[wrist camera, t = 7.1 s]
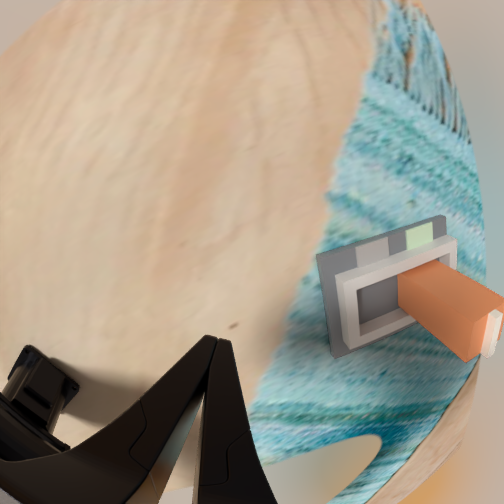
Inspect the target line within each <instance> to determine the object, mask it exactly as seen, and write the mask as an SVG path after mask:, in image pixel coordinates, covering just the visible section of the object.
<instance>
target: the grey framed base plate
mask: <svg viewBox="0 0 504 504" xmlns="http://www.w3.org/2000/svg"><path fill="white" fill-rule="evenodd" d="M316 258H317V264H318V270H319V276H320V282H321V288H322V294H323V301H324V307H325V314H326V320H327V327H328V335H329V342H330V349H331V355H332V356H333V358H334V359H336V358H338V357H341V356H343V355H346V354H349V353H351V352H353V351H356V350H358V349H361V348H363V347H366V346H368V345H370V344H373V343H375V342H377V341H380V340H382V339H384V338H386V337H389V336H391V335H393V334H395V333H397V332H400V331H402V330H404V329H406V328H408V327H410V326H412V325H414V324H416V323H418V322H417V321H416V320H415V319H414V318H413V317H411V316H410V315H409V314H408V313H407V312H405V311H404V310H403V309H402V308H400V307H399V306H398V280H397V274H399V273H402V272H404V271H407V270H409V269H412V268H414V267H417V266H419V265H422V264H424V263H426V262H429V261H431V260H434V259H435V260H437V261H439V262H441V263H443V264H445V265H447V266H449V267H450V268H452V269H454V270H456V268H457V239H456V238H453V237H451V236H449V235H446V216H443V215H438V216H435V217H432V218H429V219H426V220H423V221H420V222H417V223H414V224H411V225H408V226H405V227H402V228H399V229H395V230H392V231H389V232H386V233H383V234H380V235H377V236H374V237H371V238H368V239H365V240H361V241H358V242H355V243H352V244H349V245H346V246H342V247H339V248H336V249H333V250H330V251H327V252H323V253H320V254H317V255H316Z"/></svg>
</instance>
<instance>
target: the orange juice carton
mask: <svg viewBox="0 0 504 504" xmlns="http://www.w3.org/2000/svg"><path fill="white" fill-rule="evenodd" d="M397 280H398V306H399V307H400V308H402V309H403V310H404V311H405V312H407V313H408V314H409V315H410V316H411V317H413V318H414V319H415V320H416V321H417V322H419V323H420V324H421V325H422V326H423V327H424V328H426V329H427V330H428V331H429V332H430V333H432V334H433V335H434V336H435V337H436V338H437V339H439V340H440V341H441V342H442V343H443V344H444V345H446V346H447V347H448V348H449V349H450V350H451V351H452V352H454V353H455V354H456V355H457V356H458V357H459V358H460V359H462V360H463V361H464V362H465V363H467V362H468V361H470V360H471V359H473V358H474V357H475V356H477V355H478V354H480V353H481V354H482V355H483V356H484V357H485V358H489V357H490V356H491V355H493V354H494V350H495V347H496V342H497V340H499V338H500V335H501V330H502V326H503V321H504V298H503V297H502V296H500V295H498V294H497V293H495V292H493V291H492V290H490V289H488V288H486V287H485V286H483V285H481V284H479V283H478V282H476V281H474V280H472V279H470V278H469V277H467V276H465V275H463V274H461V273H460V272H458V271H456V270H454V269H452V268H450V267H449V266H447V265H445V264H443V263H441V262H439V261H437V260H435V259H434V260H431V261H429V262H426V263H424V264H422V265H419V266H417V267H414V268H412V269H409V270H407V271H404V272H402V273H399V274H397Z"/></svg>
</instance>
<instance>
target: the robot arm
mask: <svg viewBox="0 0 504 504" xmlns="http://www.w3.org/2000/svg"><path fill="white" fill-rule="evenodd" d="M27 350H28V351H29V352H28V351H27ZM79 389H80V386H79V384H78V383H76V382H75V381H73V380H72V379H71V378H69V377H68V376H67V375H65V374H64V373H63V372H61V371H60V370H59V369H57V368H56V367H55V366H53V365H52V364H51V363H50V362H48V361H47V360H46V359H45V358H43V357H42V356H41V355H40V354H39V353H37V352H36V351H35V350H34V349H33V348H31V347H30V346H28V345H26V346H25V347H24V348H23V350H22V352H21V353H20V355H19V357H18V359H17V361H16V362H15V364H14V366H13V368H12V370H11V372H10V374H9V376H8V383H7V384H6V386H5V388H4V389H3V391H2V393H1V392H0V504H158V503H159V500H160V498H161V496H162V493H163V491H164V489H165V487H166V484H167V482H168V480H169V477H170V475H171V473H172V470H173V468H174V466H175V463H176V461H177V459H178V456H179V454H180V452H181V449H182V447H183V445H184V442H185V440H186V438H187V435H188V433H189V431H190V428H191V426H192V424H193V421H194V419H195V416H196V414H197V412H198V409H199V407H200V405H201V402H202V399H203V396H204V399H203V406H202V414H201V423H200V432H199V441H198V450H197V459H196V468H195V478H194V489H193V499H192V504H278V503H277V501H276V499H275V497H274V495H273V493H272V490H271V488H270V486H269V483H268V481H267V478H266V476H265V474H264V471H263V469H262V466H261V464H260V461H259V458H258V455H257V452H256V449H255V445H254V441H253V437H252V433H251V430H250V425H249V421H248V417H247V412H246V408H245V403H244V399H243V394H242V390H241V385H240V381H239V376H238V372H237V367H236V362H235V357H234V353H233V348H232V343H231V341H230V340H226V339H222V338H219V339H218V338H217V337H215V336H211V335H204V336H203V337H202V338H201V339H200V340H199V341H198V342H197V343H196V344H195V345H194V346H193V347H192V348H191V349H190V350H189V351H188V352H187V353H186V354H185V355H184V356H183V357H182V358H181V359H180V360H179V361H178V362H177V363H176V364H175V365H174V366H173V367H172V368H170V369H169V370H168V371H167V372H166V373H165V374H164V375H163V376H162V377H161V378H160V379H159V380H158V381H157V382H156V383H155V384H154V385H153V386H152V387H151V388H150V389H149V390H148V391H147V392H146V393H144V394H143V395H142V396H141V397H140V400H137V401H136V402H135V403H134V404H133V405H132V406H131V407H129V408H128V409H127V410H126V411H125V412H124V413H123V414H121V415H120V416H119V417H118V418H116V419H115V420H114V421H112V422H111V423H110V424H108V425H107V426H106V427H104V428H103V429H101V430H100V431H98V432H97V433H95V434H94V435H93V436H91V437H90V438H88V439H87V440H85V441H84V442H82V443H81V444H79V445H77V446H76V447H74V448H72V449H70V446H69V445H67V444H66V443H63V442H61V441H60V440H59V439H57V438H56V437H54V436H53V435H52V434H53V431H54V428H55V426H56V423H57V420H58V418H59V415H60V412H61V411H62V410H63V409H64V407H65V406H66V405H67V404H68V403H69V402H70V401H71V400H72V398H73V397H74V396H75V395H76V394H77V393H78V392H79ZM204 393H205V394H204Z"/></svg>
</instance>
